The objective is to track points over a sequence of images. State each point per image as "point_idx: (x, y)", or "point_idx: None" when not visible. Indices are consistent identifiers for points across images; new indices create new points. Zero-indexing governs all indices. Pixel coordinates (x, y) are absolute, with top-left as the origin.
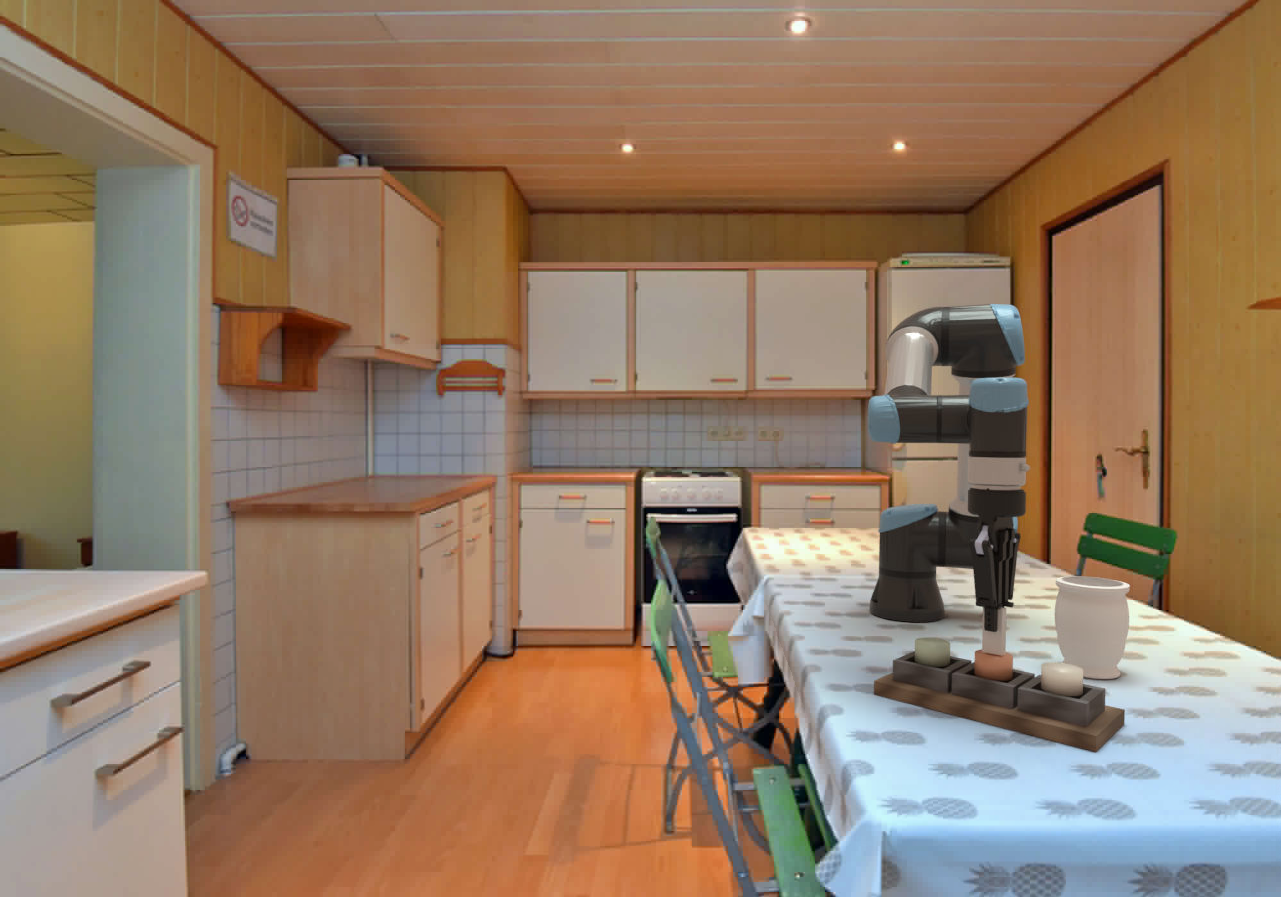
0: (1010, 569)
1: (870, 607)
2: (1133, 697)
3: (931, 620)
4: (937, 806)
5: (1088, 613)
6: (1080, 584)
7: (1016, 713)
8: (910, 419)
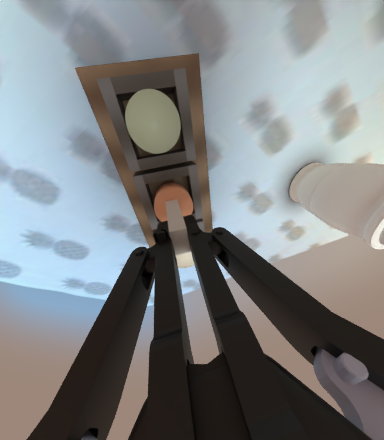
0: (246, 291)
1: None
2: (263, 224)
3: None
4: None
5: (338, 216)
6: None
7: (147, 226)
8: None
